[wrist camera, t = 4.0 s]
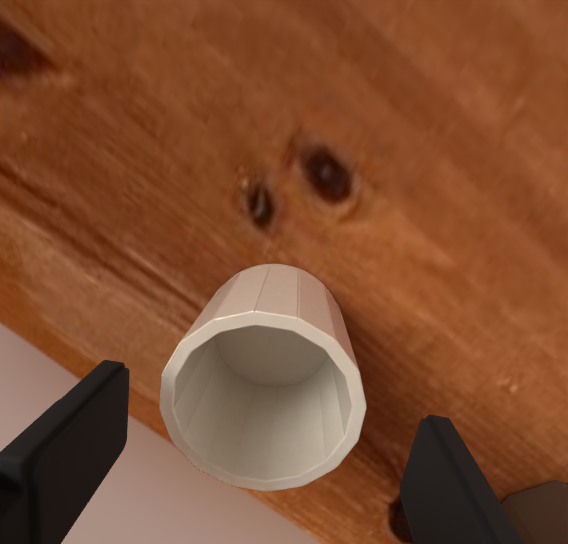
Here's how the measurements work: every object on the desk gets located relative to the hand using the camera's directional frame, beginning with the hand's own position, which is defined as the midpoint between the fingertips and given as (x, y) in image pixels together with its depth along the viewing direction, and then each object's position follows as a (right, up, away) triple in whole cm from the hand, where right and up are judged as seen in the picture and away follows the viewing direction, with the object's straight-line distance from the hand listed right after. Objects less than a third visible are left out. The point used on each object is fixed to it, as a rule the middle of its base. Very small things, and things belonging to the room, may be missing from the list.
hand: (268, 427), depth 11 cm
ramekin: (0, +2, +7) cm, 7 cm away
